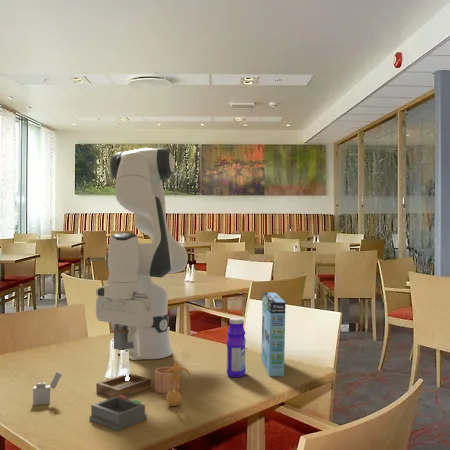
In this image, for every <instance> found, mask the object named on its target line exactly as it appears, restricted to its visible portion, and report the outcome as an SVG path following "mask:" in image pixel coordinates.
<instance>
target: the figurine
mask: <svg viewBox="0 0 450 450" xmlns="http://www.w3.org/2000/svg"><path fill="white" fill-rule="evenodd" d="M170 367H171V368H169V369H168V370H166V371H164V372H163V374H162V375H161V376H160V378H159V380H160V379H161V378H162V377H163V375H164V374H165V373H167V372H169V371H172V374H173V377H172V376H170V381H169V382H170V387H171V390H170V391H169V392H168V393H167V394H166V396H165V400H166V403H167V404H168V406H171V407H176V406H178V405H179V404H180V403H181V401H182V394H181V393H180V391H178V387H179V384H178V382H179V381H180V382H181V374H180V375H179V372H180V373H181V371H184V372H186V374H187V375H188V378H189V379H192V376H191V373H190V372H189V369H187V368H185V367H183V366H180V365H179V364H178V362H177V360H176V361H174V362H173V365H172V366H170ZM178 375H179V376H178ZM174 379H175V380H176V381H177V384H176V386H177V388H176V390H173V385H172V382H173V381H174Z"/></svg>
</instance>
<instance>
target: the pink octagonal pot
mask: <svg viewBox="0 0 450 450" xmlns="http://www.w3.org/2000/svg"><path fill="white" fill-rule="evenodd" d="M171 367H172V366H161V367H158V368H155V369H154V392H155V393H158V394H166V395H167V393H168V392H169V391H170V390H171V387H170V382H169V381H170V376H172V377H173V374H172V371H169V372H167V373H165V374H164V375H163V377H162V378H161V379H160V380H159V378H160V376H161V375H162V374H163V372H164V371H166V370H168V369H169V368H171ZM179 375H180V376H181V371H180V372H179ZM179 375H178V376H179ZM176 384H177V381H176V380H175V379H174V381H173V382H172V385H173V390H176V388H177V386H176ZM178 384H179V387H178V392H180V390H181V380H180V381H179V382H178Z"/></svg>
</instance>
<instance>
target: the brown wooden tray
mask: <svg viewBox="0 0 450 450" xmlns="http://www.w3.org/2000/svg"><path fill="white" fill-rule="evenodd" d="M129 373H130V374H129V377H130V380H129V381H125V377H126V375H125V374H122V375H118V376H115V377H112V378H108V379H106V380H104V381H99V382H97V383H95V384H96V392H95V393H98V394H100V395H102V396H103V395H104V396H107V397H110V398H113V397H116V396H120V395H123V396H126V397H129V396H132V395H135V394H137V393H138V394H139V393H140V392H143V391H146V390H148V389H151V388H152V379H151V378H149V377H145V376H142V375H138V374H133V373H131V372H129ZM124 375H125V376H124Z"/></svg>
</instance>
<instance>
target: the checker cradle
mask: <svg viewBox="0 0 450 450" xmlns="http://www.w3.org/2000/svg"><path fill="white" fill-rule="evenodd" d="M127 397H128V396H127ZM127 397H126V396H123V395H120V396H116V397H113V398H112V397H110V398H107V399H105V400H102V401H98V402H96V403H93V404H91V405H90V407H91V415H89V421H91V422H93V423H96V424H99V425H101V426H104V427H106V428H109V429H112V430H114V431H116V432H118V431H121V430H124V429H125V428H128V427H130V426H133V425H135V424H137V423H140V422H143V421H145V420H147V414H146V404H143V403H141V402H142V401H140V400H138V399H133V400H130V399H127Z"/></svg>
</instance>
